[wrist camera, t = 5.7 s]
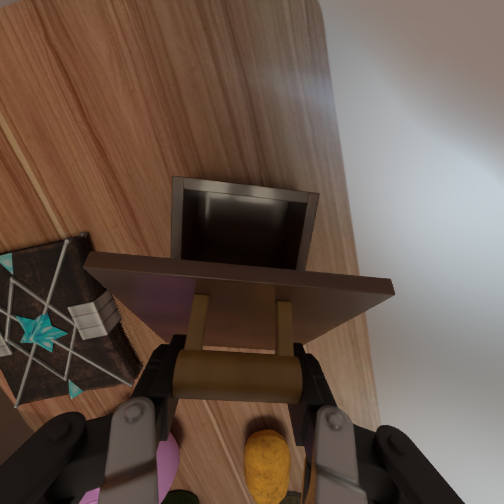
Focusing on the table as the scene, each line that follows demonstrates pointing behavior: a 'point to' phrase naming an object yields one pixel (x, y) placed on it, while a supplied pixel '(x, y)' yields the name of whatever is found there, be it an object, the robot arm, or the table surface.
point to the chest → (241, 223)
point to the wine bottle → (180, 498)
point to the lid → (235, 318)
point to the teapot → (165, 468)
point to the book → (58, 325)
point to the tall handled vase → (291, 498)
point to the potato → (267, 466)
